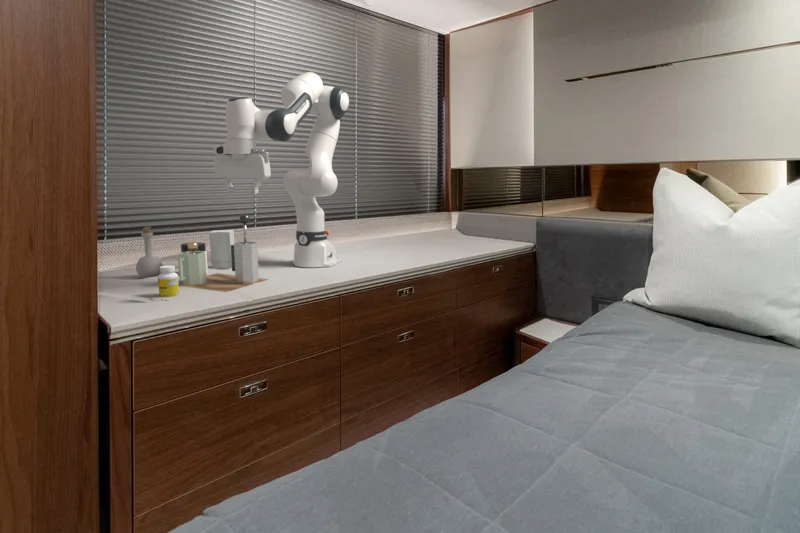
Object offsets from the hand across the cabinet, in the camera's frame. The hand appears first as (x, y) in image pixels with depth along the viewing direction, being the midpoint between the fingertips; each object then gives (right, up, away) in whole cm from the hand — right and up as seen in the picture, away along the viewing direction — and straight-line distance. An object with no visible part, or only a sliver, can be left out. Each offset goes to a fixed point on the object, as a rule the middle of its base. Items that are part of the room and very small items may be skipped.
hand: (243, 192), depth 161 cm
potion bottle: (-38, -28, +16) cm, 50 cm away
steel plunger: (0, -18, +3) cm, 18 cm away
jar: (-23, -28, +17) cm, 40 cm away
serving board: (-9, -30, +4) cm, 32 cm away
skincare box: (-18, -25, +34) cm, 46 cm away
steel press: (-1, -29, +6) cm, 30 cm away
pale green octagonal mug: (-17, -30, +1) cm, 34 cm away
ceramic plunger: (-17, -26, +2) cm, 31 cm away
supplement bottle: (-17, -34, -14) cm, 41 cm away
